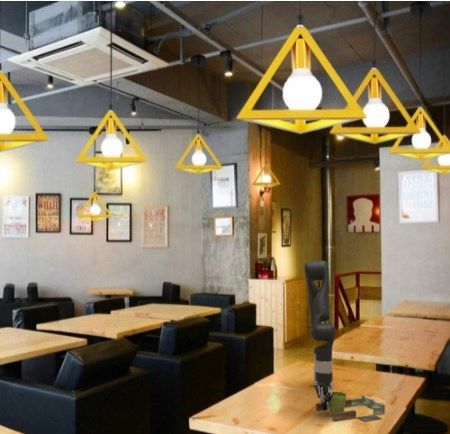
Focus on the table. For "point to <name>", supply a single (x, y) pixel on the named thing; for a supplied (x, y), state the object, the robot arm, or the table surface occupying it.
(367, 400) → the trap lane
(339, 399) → the plant pot
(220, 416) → the table surface
